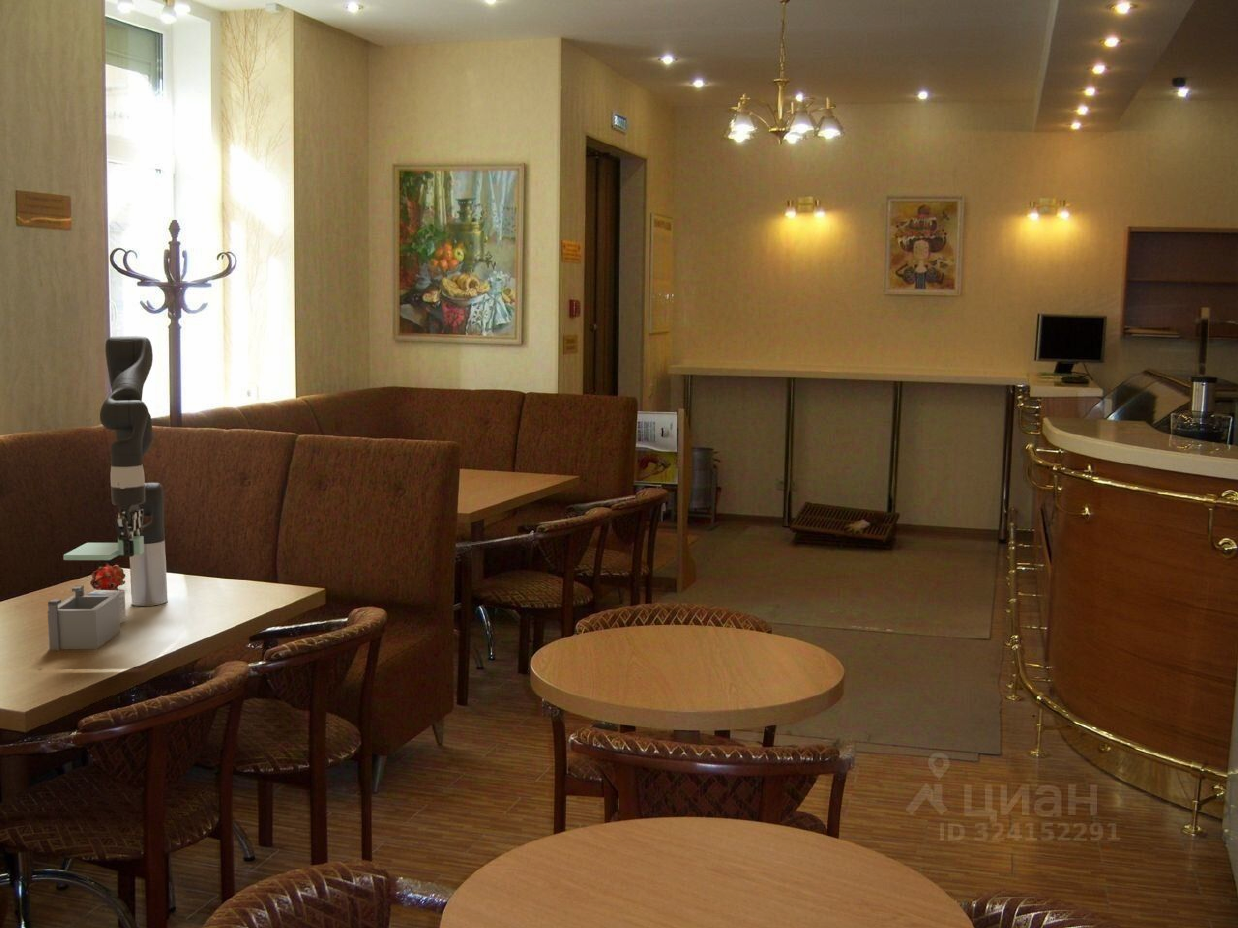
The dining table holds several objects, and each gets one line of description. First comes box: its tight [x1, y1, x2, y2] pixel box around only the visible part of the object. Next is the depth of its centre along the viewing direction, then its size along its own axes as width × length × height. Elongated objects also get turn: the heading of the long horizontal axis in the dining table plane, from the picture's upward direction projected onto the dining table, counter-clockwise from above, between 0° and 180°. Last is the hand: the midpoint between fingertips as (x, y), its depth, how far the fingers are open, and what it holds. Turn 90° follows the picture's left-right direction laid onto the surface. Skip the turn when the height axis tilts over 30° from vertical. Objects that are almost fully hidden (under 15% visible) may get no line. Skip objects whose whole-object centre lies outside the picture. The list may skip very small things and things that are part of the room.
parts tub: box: [47, 585, 121, 651], centre depth 290 cm, size 17×11×12 cm, turn 3°
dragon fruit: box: [89, 563, 126, 590], centre depth 343 cm, size 8×8×12 cm
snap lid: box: [62, 536, 144, 561], centre depth 288 cm, size 14×16×4 cm
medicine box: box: [86, 589, 127, 624], centre depth 307 cm, size 8×4×9 cm, turn 84°
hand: (131, 554), depth 289 cm, fingers closed on snap lid, 3 cm apart
